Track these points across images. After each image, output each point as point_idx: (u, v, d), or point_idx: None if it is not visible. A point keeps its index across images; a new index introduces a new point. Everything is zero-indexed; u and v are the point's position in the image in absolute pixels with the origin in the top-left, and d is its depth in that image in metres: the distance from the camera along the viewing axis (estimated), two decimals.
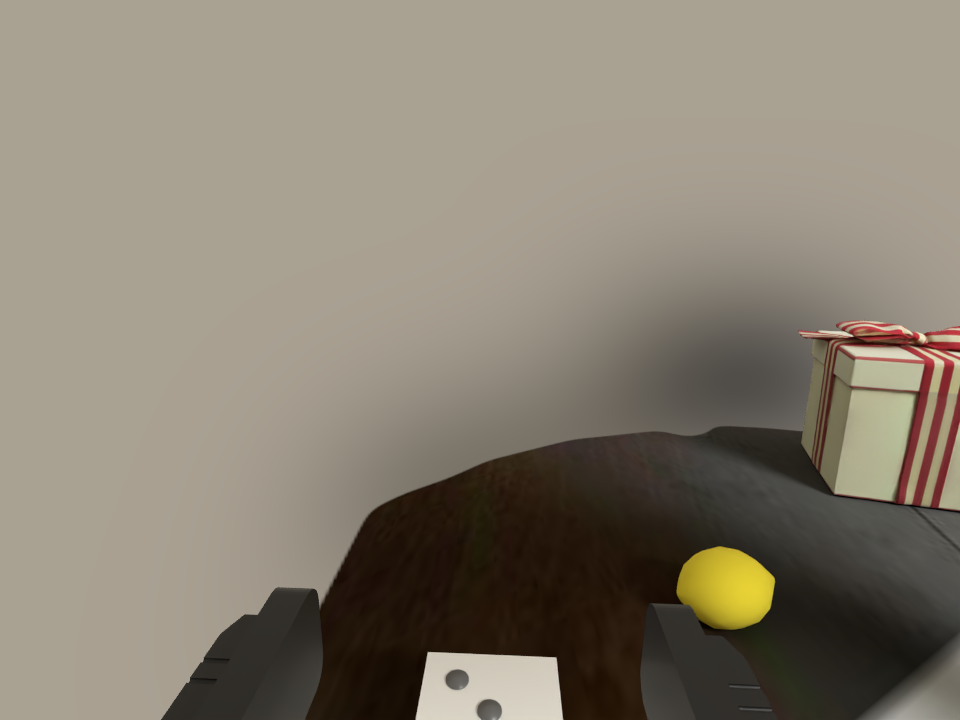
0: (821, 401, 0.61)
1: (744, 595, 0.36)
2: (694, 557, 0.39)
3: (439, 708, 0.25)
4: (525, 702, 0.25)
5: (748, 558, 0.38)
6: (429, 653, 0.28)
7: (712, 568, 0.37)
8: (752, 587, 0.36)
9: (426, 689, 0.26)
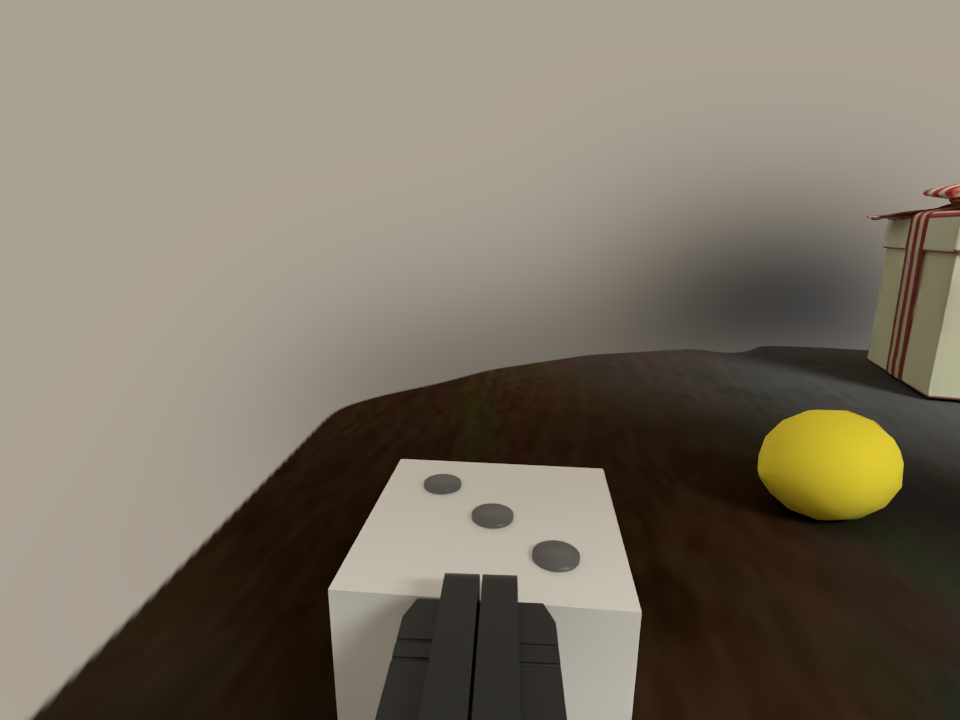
0: (902, 293, 0.50)
1: (868, 462, 0.24)
2: (783, 422, 0.27)
3: (408, 511, 0.15)
4: (553, 510, 0.15)
5: (865, 419, 0.26)
6: (403, 460, 0.18)
7: (815, 429, 0.25)
8: (879, 451, 0.24)
9: (390, 492, 0.16)
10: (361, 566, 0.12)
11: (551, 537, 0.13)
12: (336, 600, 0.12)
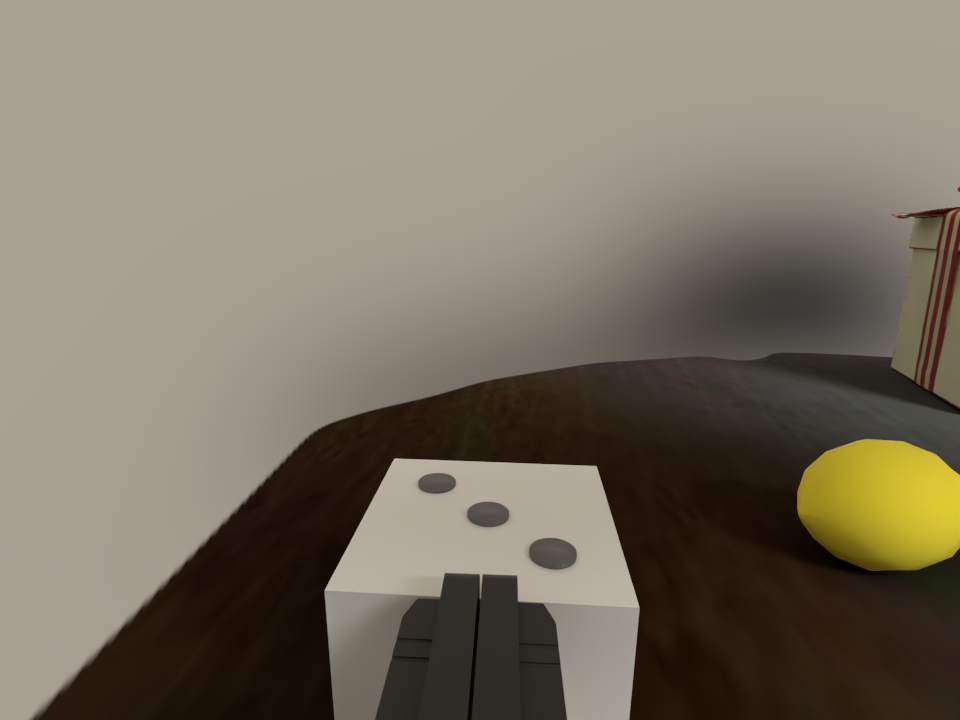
0: (932, 297, 0.46)
1: (935, 507, 0.20)
2: (827, 454, 0.23)
3: (403, 511, 0.14)
4: (548, 507, 0.15)
5: (926, 452, 0.22)
6: (396, 459, 0.18)
7: (868, 465, 0.21)
8: (947, 493, 0.20)
9: (384, 492, 0.16)
10: (357, 567, 0.12)
11: (546, 534, 0.13)
12: (333, 601, 0.11)
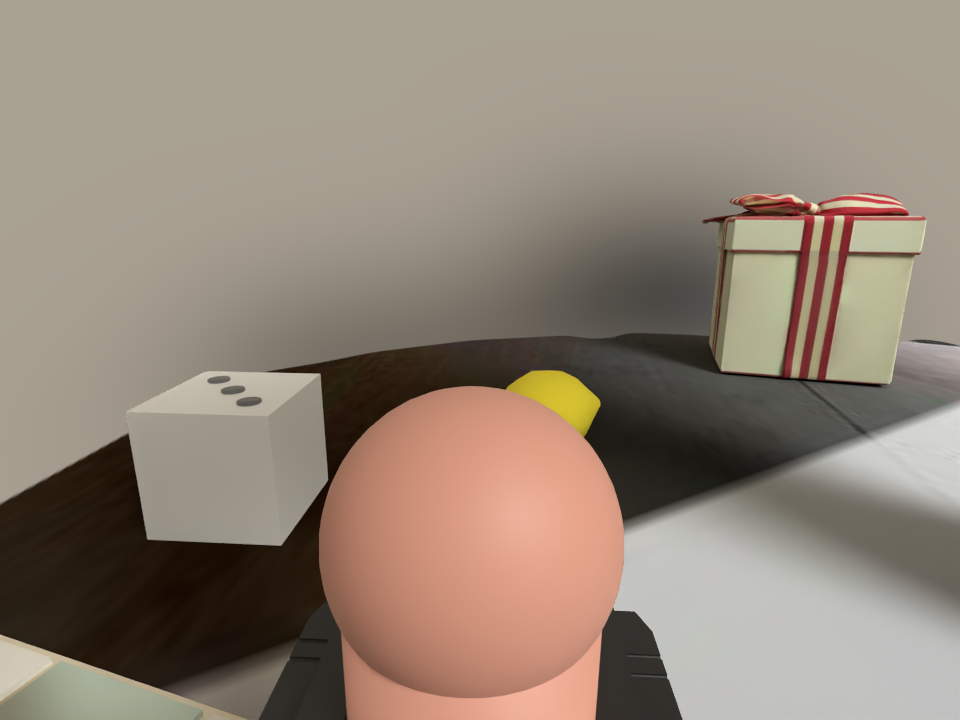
0: (718, 285, 0.58)
1: (553, 405, 0.33)
2: (516, 380, 0.36)
3: (189, 389, 0.27)
4: (269, 388, 0.27)
5: (568, 376, 0.35)
6: (206, 371, 0.30)
7: (526, 383, 0.34)
8: (563, 398, 0.33)
9: (186, 383, 0.28)
10: (147, 405, 0.25)
11: (255, 396, 0.26)
12: (129, 417, 0.24)
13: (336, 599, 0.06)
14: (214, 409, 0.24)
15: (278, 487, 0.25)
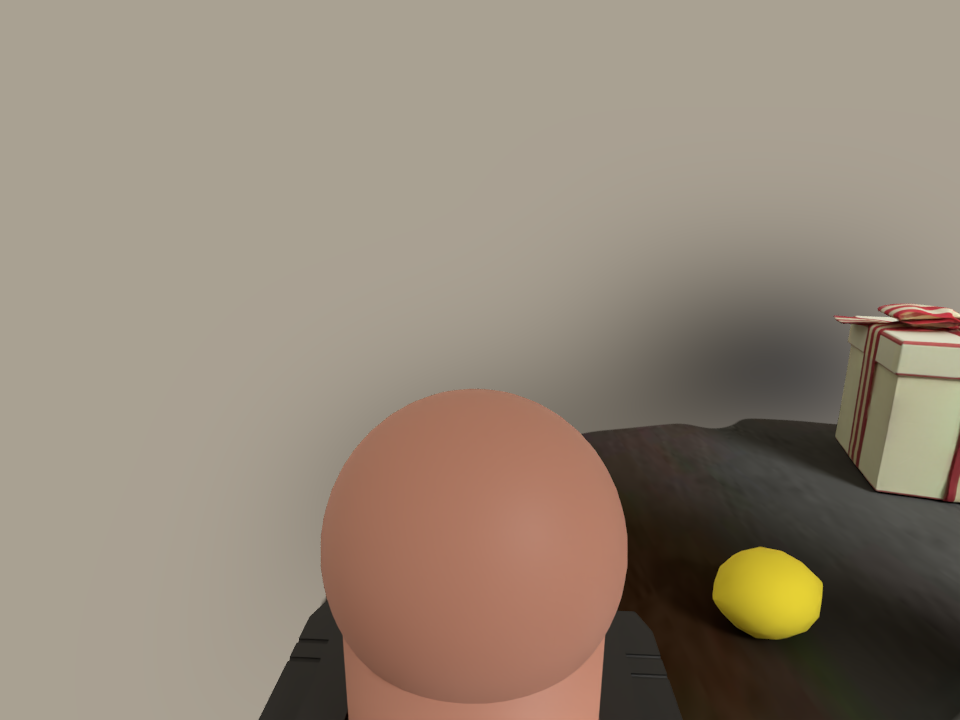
0: (860, 391, 0.57)
1: (791, 601, 0.32)
2: (732, 558, 0.35)
3: None
4: None
5: (794, 560, 0.34)
6: None
7: (754, 571, 0.33)
8: (800, 593, 0.32)
9: None
10: None
11: None
12: None
13: (338, 604, 0.06)
14: None
15: None
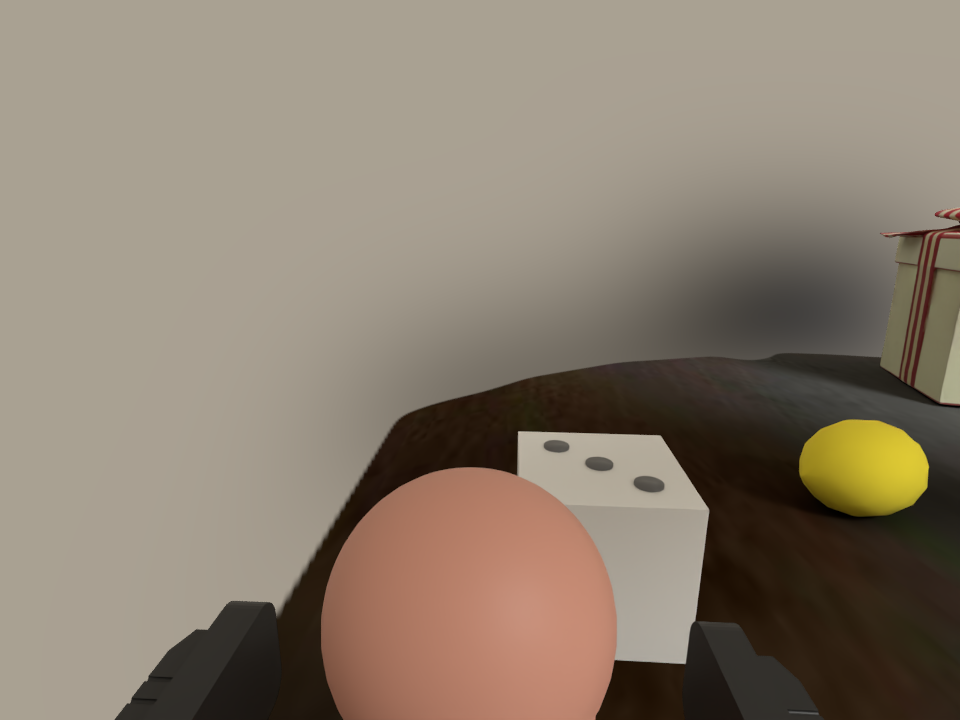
0: (914, 306, 0.53)
1: (899, 466, 0.28)
2: (821, 431, 0.31)
3: (542, 462, 0.22)
4: (636, 460, 0.22)
5: (895, 428, 0.30)
6: (520, 432, 0.25)
7: (852, 437, 0.29)
8: (908, 457, 0.28)
9: (523, 451, 0.23)
10: None
11: (641, 474, 0.21)
12: None
13: (338, 693, 0.06)
14: (623, 497, 0.19)
15: (695, 594, 0.20)
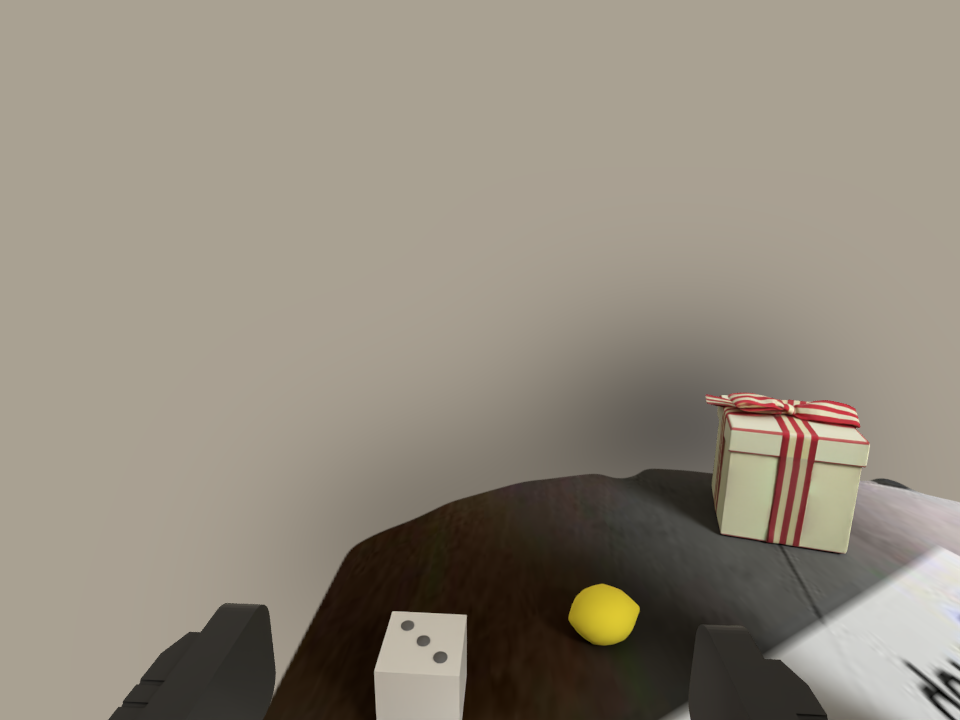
0: (718, 455, 0.76)
1: (611, 621, 0.50)
2: (582, 591, 0.53)
3: (395, 639, 0.44)
4: (443, 637, 0.45)
5: (619, 593, 0.52)
6: (393, 611, 0.47)
7: (591, 601, 0.51)
8: (617, 615, 0.50)
9: (389, 630, 0.45)
10: (382, 662, 0.42)
11: (440, 649, 0.43)
12: (376, 674, 0.41)
13: None
14: (424, 667, 0.42)
15: (459, 711, 0.42)
